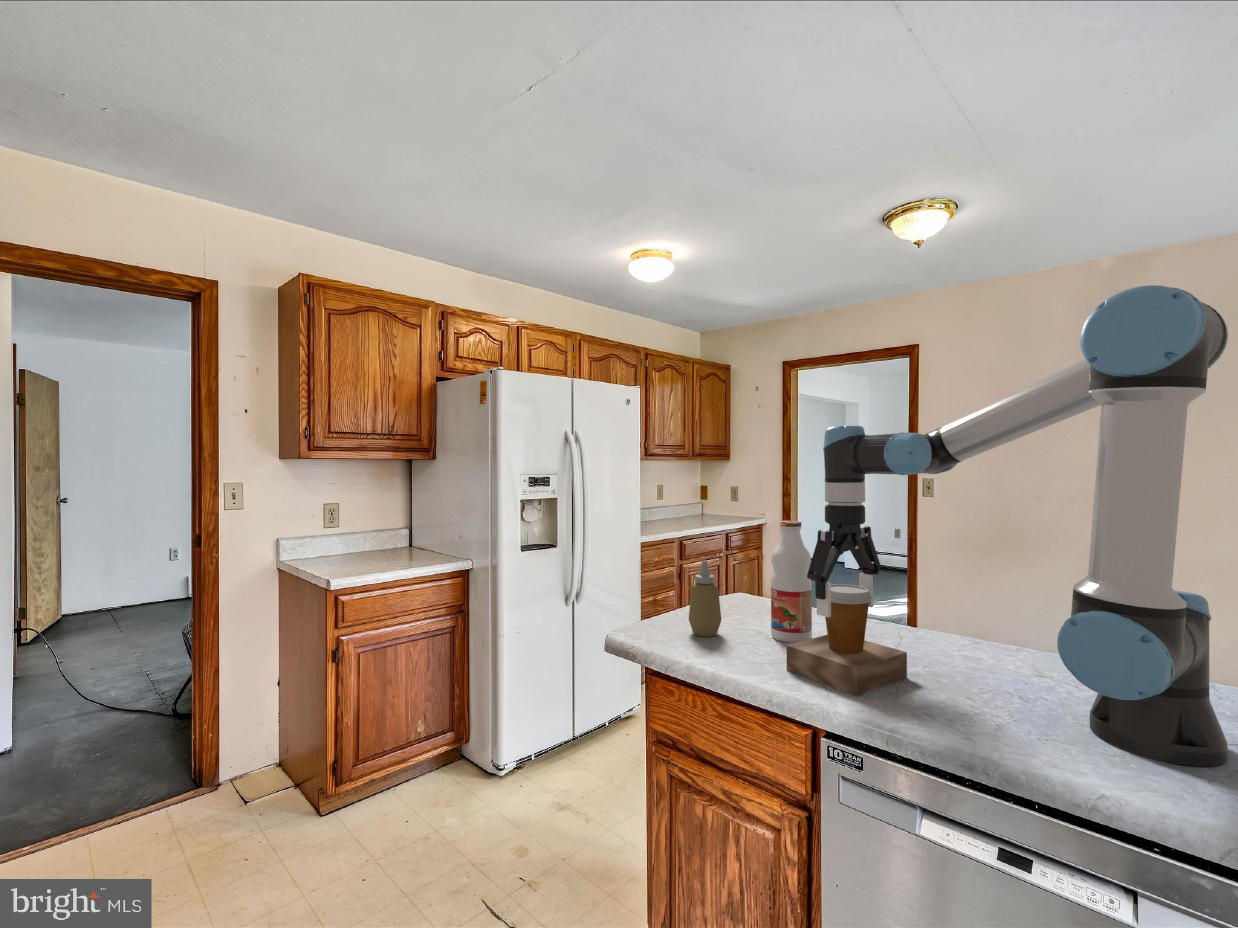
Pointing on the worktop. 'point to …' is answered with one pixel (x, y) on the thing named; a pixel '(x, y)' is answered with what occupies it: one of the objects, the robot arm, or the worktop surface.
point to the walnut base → (847, 665)
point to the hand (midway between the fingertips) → (845, 610)
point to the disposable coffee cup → (847, 618)
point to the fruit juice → (791, 587)
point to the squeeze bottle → (704, 604)
